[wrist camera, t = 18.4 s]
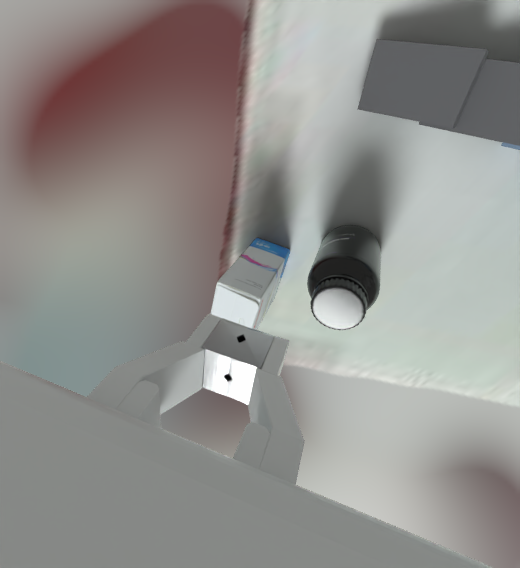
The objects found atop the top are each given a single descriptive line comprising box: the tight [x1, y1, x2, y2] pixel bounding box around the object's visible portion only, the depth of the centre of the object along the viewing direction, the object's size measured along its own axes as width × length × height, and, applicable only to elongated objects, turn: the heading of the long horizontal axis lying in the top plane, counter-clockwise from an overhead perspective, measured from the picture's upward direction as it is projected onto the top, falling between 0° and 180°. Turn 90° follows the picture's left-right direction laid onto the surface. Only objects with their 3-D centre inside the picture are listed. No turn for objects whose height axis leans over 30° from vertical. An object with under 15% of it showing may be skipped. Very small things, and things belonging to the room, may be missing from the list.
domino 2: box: [419, 59, 520, 146], centre depth 25 cm, size 2×5×8 cm
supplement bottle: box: [307, 225, 381, 330], centre depth 32 cm, size 7×7×12 cm
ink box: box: [211, 238, 290, 330], centre depth 37 cm, size 9×5×12 cm, turn 166°
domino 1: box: [358, 39, 488, 128], centre depth 26 cm, size 2×5×8 cm
